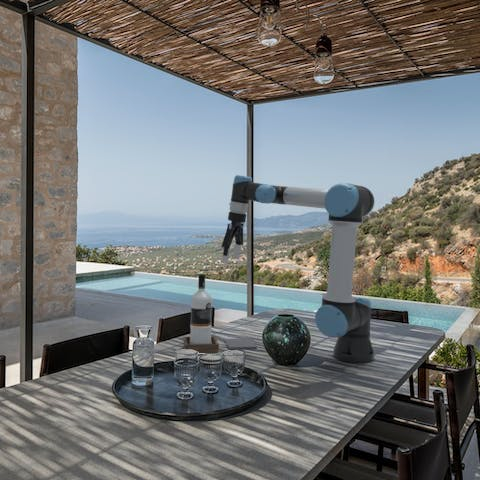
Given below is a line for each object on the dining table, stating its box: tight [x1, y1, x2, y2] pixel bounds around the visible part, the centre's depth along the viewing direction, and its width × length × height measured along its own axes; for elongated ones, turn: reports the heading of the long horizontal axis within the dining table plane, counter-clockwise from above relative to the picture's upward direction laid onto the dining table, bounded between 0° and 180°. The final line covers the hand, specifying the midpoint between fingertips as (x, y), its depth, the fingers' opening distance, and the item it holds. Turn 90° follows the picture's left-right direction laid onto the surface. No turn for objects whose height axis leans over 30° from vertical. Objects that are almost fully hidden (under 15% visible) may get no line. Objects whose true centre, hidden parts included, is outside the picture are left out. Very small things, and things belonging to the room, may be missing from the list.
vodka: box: [189, 273, 213, 344], centre depth 181 cm, size 9×9×30 cm
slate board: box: [224, 337, 258, 351], centre depth 191 cm, size 14×11×1 cm
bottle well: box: [182, 335, 220, 353], centre depth 181 cm, size 13×13×4 cm
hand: (230, 261), depth 198 cm, fingers open, 13 cm apart
